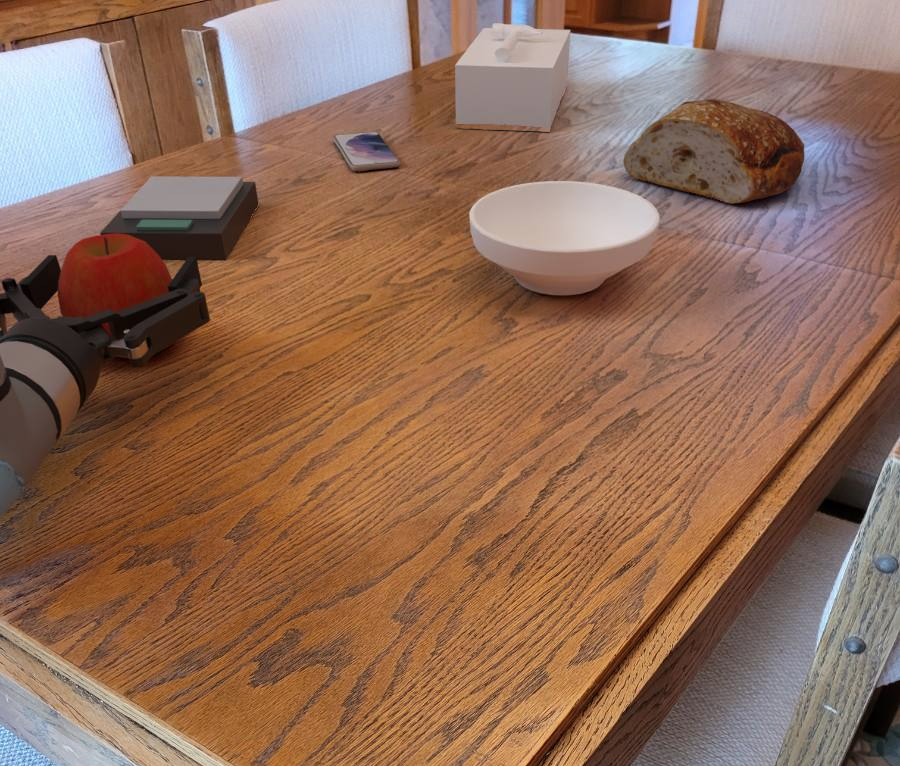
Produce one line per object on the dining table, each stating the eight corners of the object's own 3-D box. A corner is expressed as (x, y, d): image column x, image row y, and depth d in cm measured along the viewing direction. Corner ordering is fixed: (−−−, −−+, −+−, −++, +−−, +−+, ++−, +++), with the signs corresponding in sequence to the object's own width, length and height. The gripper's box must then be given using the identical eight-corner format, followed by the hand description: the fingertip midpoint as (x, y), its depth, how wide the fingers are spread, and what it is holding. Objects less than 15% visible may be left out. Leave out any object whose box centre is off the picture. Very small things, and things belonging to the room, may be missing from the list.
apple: (57, 368, 85) (18, 257, 78) (106, 316, 93) (75, 211, 86) (164, 375, 84) (135, 262, 77) (205, 322, 92) (182, 215, 85)
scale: (107, 258, 104) (97, 223, 101) (152, 205, 116) (145, 172, 114) (225, 259, 103) (219, 224, 101) (259, 206, 116) (253, 173, 113)
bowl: (432, 277, 99) (430, 210, 94) (559, 231, 108) (563, 168, 103) (559, 340, 88) (564, 268, 83) (688, 283, 97) (700, 215, 92)
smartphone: (378, 131, 135) (401, 161, 125) (378, 137, 136) (401, 168, 125) (331, 134, 134) (351, 166, 123) (332, 140, 134) (351, 172, 124)
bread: (616, 178, 121) (625, 95, 114) (700, 147, 129) (712, 68, 123) (745, 218, 109) (763, 129, 103) (827, 182, 118) (849, 97, 111)
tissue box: (566, 88, 154) (571, 13, 146) (549, 132, 136) (553, 49, 128) (483, 85, 156) (484, 11, 149) (455, 128, 138) (454, 47, 131)
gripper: (-97, 419, 74) (13, 305, 89) (200, 427, 72) (260, 309, 88) (-139, 335, 69) (-15, 228, 84) (179, 341, 67) (247, 231, 83)
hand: (125, 269), depth 86 cm, fingers open, 13 cm apart
